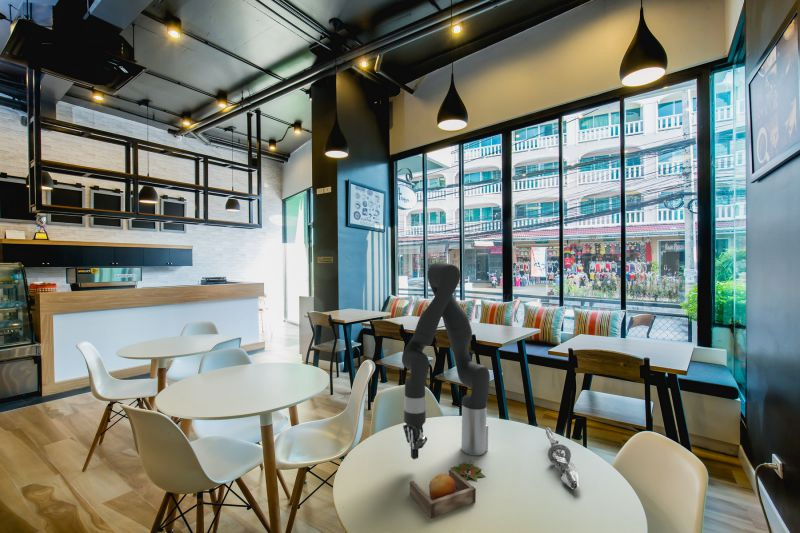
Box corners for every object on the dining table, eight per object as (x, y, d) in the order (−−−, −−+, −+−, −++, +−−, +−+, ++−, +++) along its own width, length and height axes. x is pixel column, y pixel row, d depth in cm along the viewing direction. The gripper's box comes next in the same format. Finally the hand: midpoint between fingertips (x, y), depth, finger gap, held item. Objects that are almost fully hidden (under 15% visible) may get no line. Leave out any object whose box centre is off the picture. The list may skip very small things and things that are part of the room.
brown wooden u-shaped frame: (451, 481, 122) (451, 468, 122) (475, 501, 111) (475, 488, 111) (409, 494, 114) (409, 481, 114) (430, 518, 103) (431, 504, 103)
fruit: (460, 505, 107) (446, 479, 108) (436, 515, 109) (423, 489, 110) (462, 489, 115) (449, 465, 116) (441, 498, 117) (428, 474, 118)
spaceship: (559, 423, 149) (541, 415, 150) (593, 483, 115) (569, 472, 115) (551, 440, 150) (532, 432, 151) (581, 504, 116) (557, 492, 116)
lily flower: (473, 462, 135) (473, 449, 135) (492, 480, 123) (492, 466, 123) (444, 467, 131) (444, 454, 131) (460, 486, 119) (461, 472, 119)
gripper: (434, 413, 123) (434, 464, 124) (414, 399, 135) (414, 447, 135) (415, 417, 120) (414, 470, 120) (396, 403, 132) (396, 451, 132)
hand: (414, 457), depth 128 cm, fingers closed
